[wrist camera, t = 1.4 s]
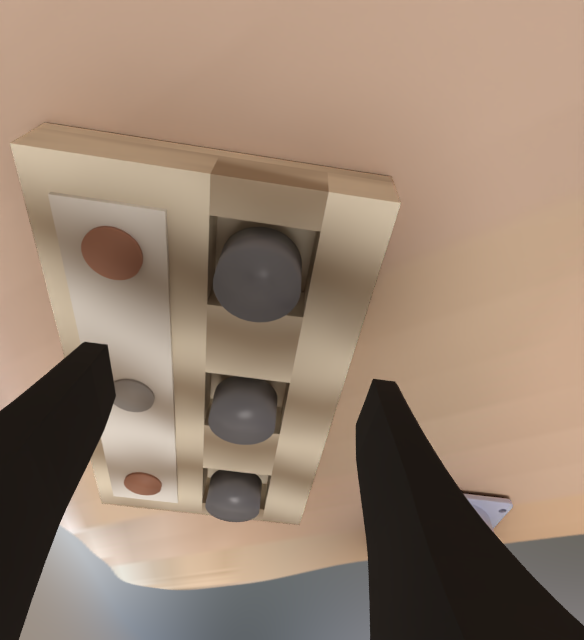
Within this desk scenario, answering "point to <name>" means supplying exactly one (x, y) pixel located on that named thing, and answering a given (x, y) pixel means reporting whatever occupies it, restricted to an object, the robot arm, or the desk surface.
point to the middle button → (243, 410)
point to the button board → (200, 301)
